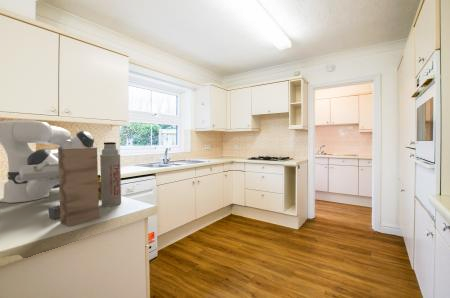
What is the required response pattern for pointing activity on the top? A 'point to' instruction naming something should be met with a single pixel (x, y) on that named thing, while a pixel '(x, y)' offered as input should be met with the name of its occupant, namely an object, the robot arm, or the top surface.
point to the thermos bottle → (110, 175)
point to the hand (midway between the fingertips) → (58, 161)
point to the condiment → (99, 187)
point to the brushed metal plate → (54, 212)
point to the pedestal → (78, 185)
